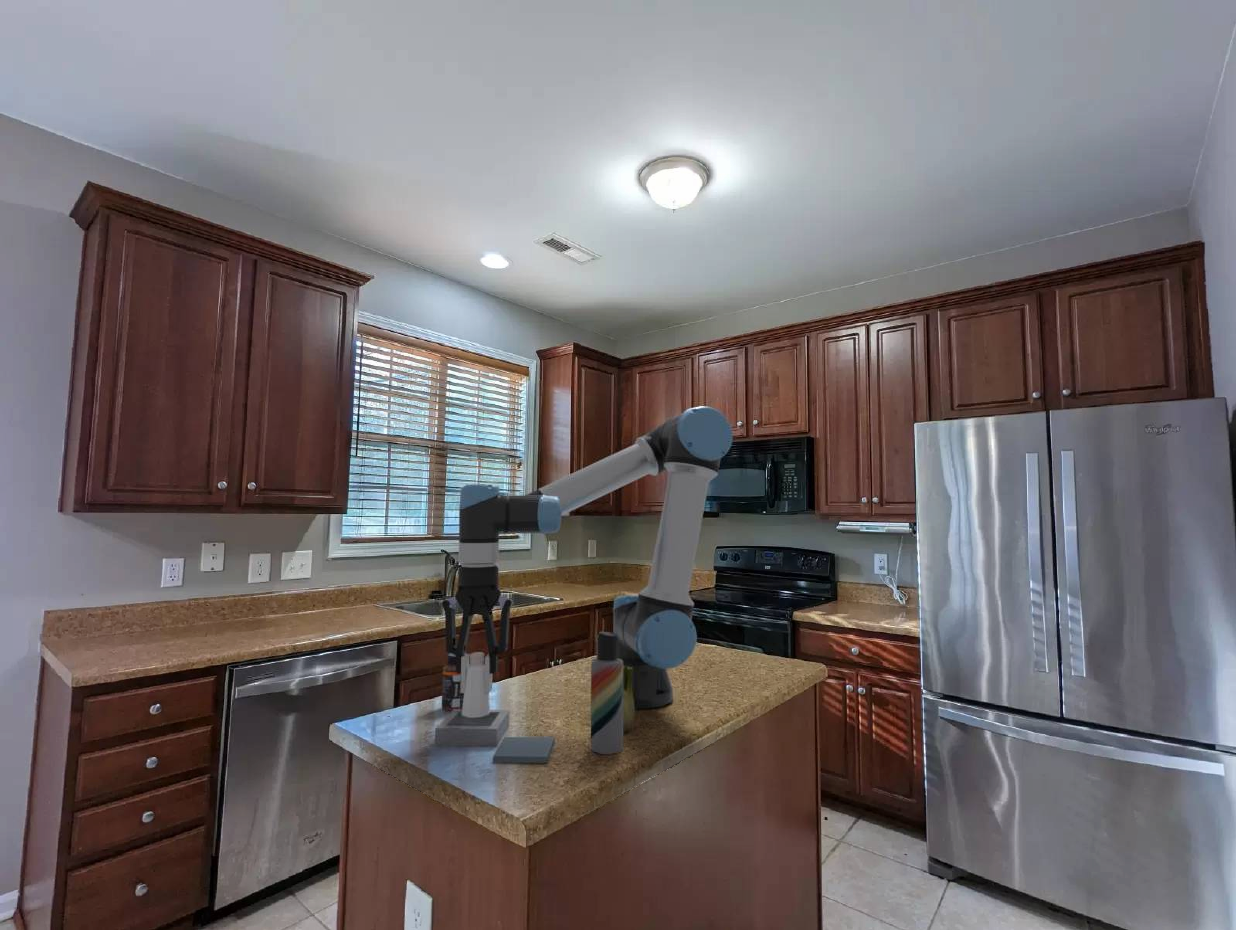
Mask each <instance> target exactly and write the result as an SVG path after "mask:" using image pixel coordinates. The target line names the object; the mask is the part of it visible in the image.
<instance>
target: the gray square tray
mask: <svg viewBox="0 0 1236 930" xmlns="http://www.w3.org/2000/svg"><path fill="white" fill-rule="evenodd" d="M509 727H510V709H490V713H489V715H486V716H483V717H480V718H468V717H464V716H462V709H453V710H452V711H451V712H449V713H448V714H447V715H446V716H445V718H443V720H442V721H441V722H440V723H439V724H438V725H437V726H435V729H434V746H435V747H481V748H482V747H486V748H487V747H491V748H492V747H493V748H496V747H497V746H498V745H499V743H501V740H502V739H503V737H504V735H505V733H507V730H508V728H509ZM497 748H498V747H497Z"/></svg>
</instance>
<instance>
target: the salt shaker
mask: <svg viewBox="0 0 1236 930" xmlns="http://www.w3.org/2000/svg"><path fill="white" fill-rule="evenodd" d="M485 657H486V656H485V653H484V652H481V651H480V652H479V651H477V652H476V651H475V652H472V653H469V664H470V666H469V667H468V668H467V673H466V682H465V693H464V699H463V708H462V716H464V717H468V718H480V717H483V716H486V715H489V713H490V710H491V702H490V692H489V693H485Z"/></svg>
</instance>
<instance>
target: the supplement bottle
mask: <svg viewBox="0 0 1236 930" xmlns="http://www.w3.org/2000/svg"><path fill="white" fill-rule="evenodd" d="M465 654H468V653H466V652H465ZM469 666H470V663H469ZM463 699H464V693H461V674H457V672H456V656H455V655H454V654H452V653H448V654H447V663H446V664H445V665H444V666H443V667H442V689H441V709H442V710H443V711H444V712H449V713H450V712H451V711H452V710H453V709H462V708H463Z"/></svg>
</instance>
